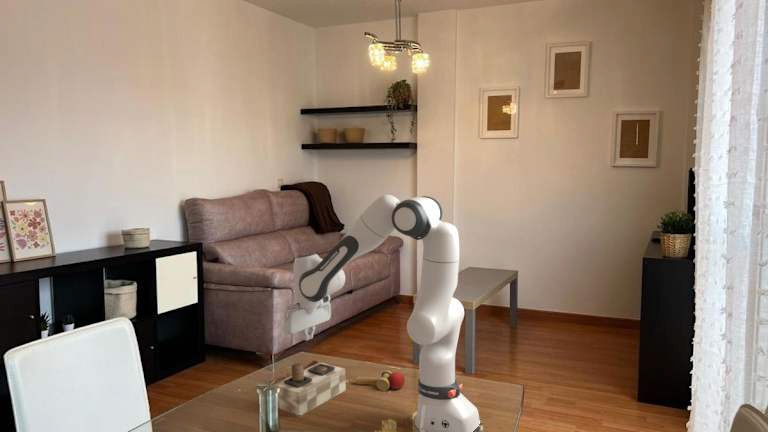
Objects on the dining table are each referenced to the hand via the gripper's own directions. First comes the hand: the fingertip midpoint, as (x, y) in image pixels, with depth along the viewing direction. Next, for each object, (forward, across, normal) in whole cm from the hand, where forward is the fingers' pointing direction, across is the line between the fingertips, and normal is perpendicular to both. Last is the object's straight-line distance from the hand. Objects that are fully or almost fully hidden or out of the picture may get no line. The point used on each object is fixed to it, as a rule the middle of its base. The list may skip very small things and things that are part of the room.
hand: (308, 339), depth 197 cm
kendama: (+22, +22, -14) cm, 34 cm away
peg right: (+21, +6, 0) cm, 22 cm away
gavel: (+22, +17, +17) cm, 32 cm away
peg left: (+16, -6, 0) cm, 17 cm away
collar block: (+21, 0, 0) cm, 21 cm away
